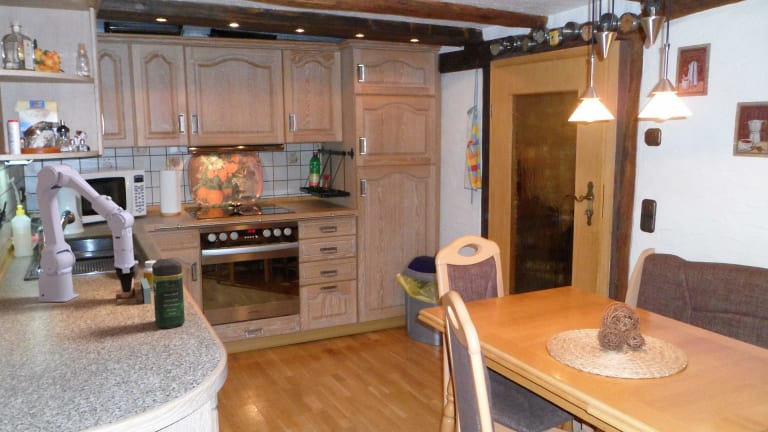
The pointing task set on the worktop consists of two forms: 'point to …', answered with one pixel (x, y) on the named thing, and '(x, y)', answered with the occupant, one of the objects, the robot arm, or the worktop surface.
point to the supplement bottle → (149, 273)
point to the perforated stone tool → (135, 270)
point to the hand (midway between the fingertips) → (126, 290)
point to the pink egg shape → (128, 294)
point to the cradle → (130, 300)
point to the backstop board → (145, 291)
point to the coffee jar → (168, 293)
